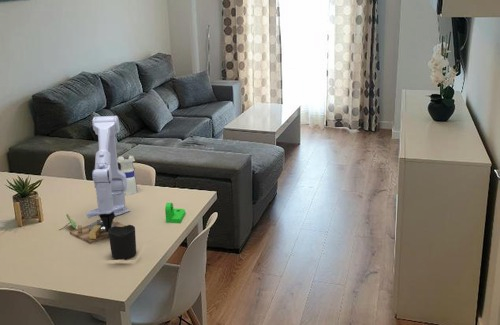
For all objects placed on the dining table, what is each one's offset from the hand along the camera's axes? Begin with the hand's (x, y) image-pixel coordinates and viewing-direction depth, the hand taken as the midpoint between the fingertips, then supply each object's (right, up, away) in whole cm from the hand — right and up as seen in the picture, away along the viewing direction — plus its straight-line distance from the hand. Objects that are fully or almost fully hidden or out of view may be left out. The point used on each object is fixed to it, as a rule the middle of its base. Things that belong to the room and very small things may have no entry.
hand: (108, 231), depth 215 cm
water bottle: (-2, +10, +47) cm, 48 cm away
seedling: (-22, -1, +9) cm, 24 cm away
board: (-4, -1, +8) cm, 9 cm away
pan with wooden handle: (-5, 0, +4) cm, 6 cm away
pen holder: (+10, -7, -15) cm, 19 cm away
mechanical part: (+24, +3, +19) cm, 31 cm away
